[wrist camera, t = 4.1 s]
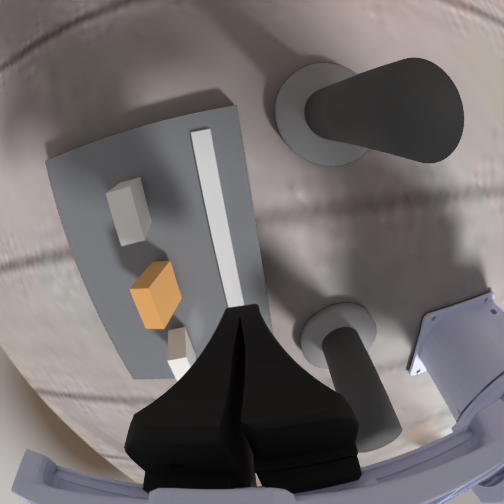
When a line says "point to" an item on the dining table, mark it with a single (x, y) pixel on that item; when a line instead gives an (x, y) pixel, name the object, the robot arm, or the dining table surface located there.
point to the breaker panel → (165, 229)
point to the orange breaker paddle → (156, 294)
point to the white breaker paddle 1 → (129, 211)
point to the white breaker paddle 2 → (179, 352)
